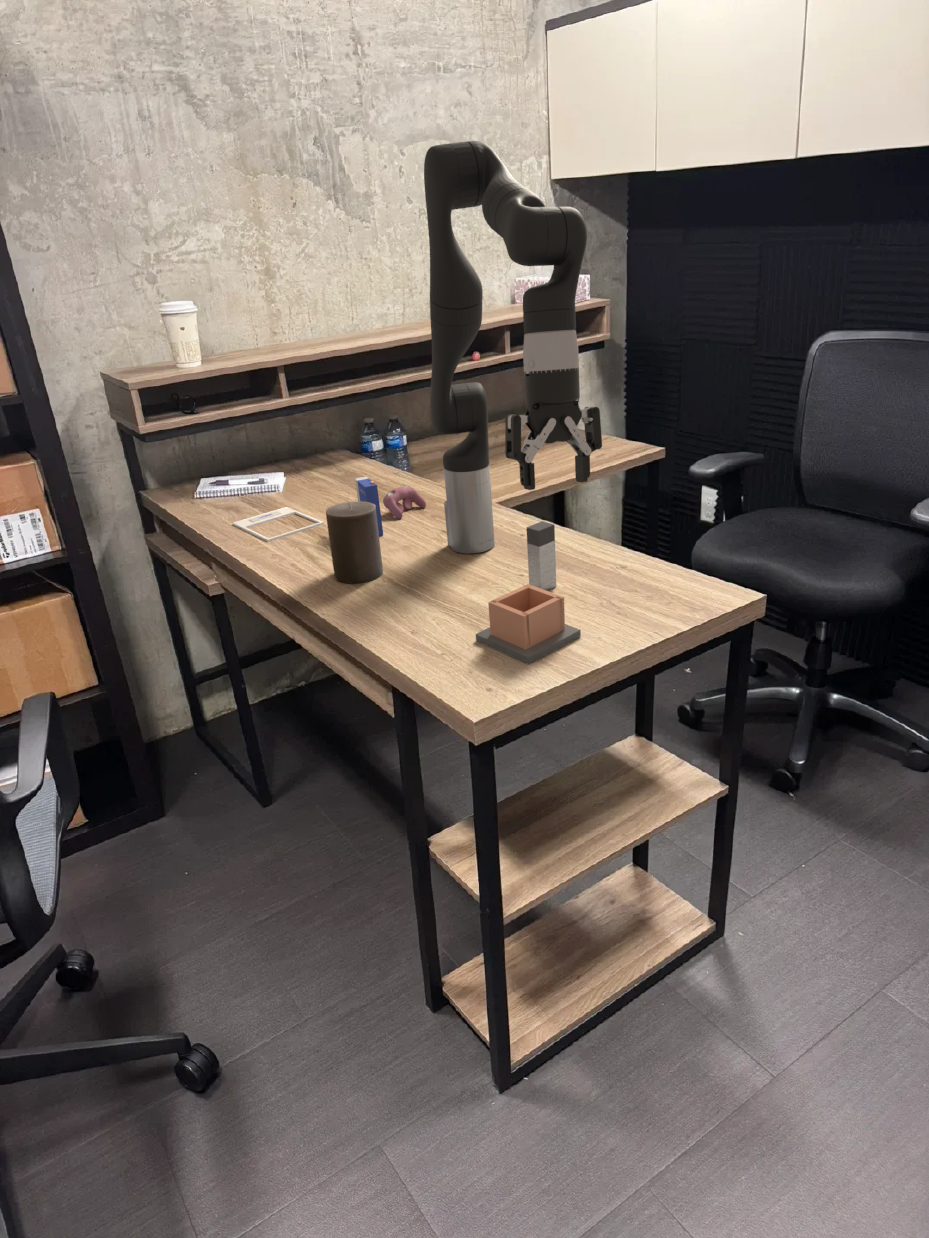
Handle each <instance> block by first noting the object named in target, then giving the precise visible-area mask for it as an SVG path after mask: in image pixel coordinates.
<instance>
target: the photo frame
mask: <svg viewBox="0 0 929 1238" xmlns="http://www.w3.org/2000/svg"><path fill="white" fill-rule="evenodd" d="M292 515H293V516H294V515H297V516H300V517H302V518H304V519H307V520H309V521H312V522H314V523H312V524H310V525H307V526H303V527H301V528H297V529H294V530H290V531H288V532H284V533H282V534H281V533H280V534H278V535H275V536H271V537H267V536H265V535H263V534H260V533H259V532H256V531H255V530H253V529H251V528H253V527H256V526H259V525H262V524H266V523H269V522H273V521H275V520H279V519H282V518H285V517H288V516H292ZM322 525H325V521H323V520H320V519H318V518H315V517H312V516H310V515H308V514H305V513H303V512H300V511H298V510H295V509H293V508H291V507H289V506H288V507H287V506H285V507H281V508H278V509H274V510H271V511H267V512H264V513H261V514H257V515H253V516H250V517H248V518H244V519H240V520H237V521H234V522H232V526H234V527H236V528H238V529H240V530H243V531H244V532H247V533H249V534H251V535H254V536H255V537H257V538H259V539H261V540H263V541H265V542H267V543H269V542H270V543H271V542H272V541H276V540H279V539H282V538H285V537H288V536H291V535H294V534H298V533H301V532H305V531H307V530H310V529H314V528H316V527H320V526H322Z"/></svg>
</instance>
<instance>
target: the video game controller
mask: <svg viewBox="0 0 929 1238" xmlns="http://www.w3.org/2000/svg"><path fill="white" fill-rule="evenodd" d="M400 501H402V503H400ZM382 502H383V505H384V507H385V508H386V509H387V510H388V511H389V513H390V514H391V515H392V516H393V517H394V518H396V519H399V520H401V519H402V518H403V512H404V510H405V511H409V510H411V509H412V508H413V503H414V504H415V505H416V506H418V507H419V508H421V509H425V508H426V507H427V503H426V500H425V499H424V498H423V497H422V496H421V494H420V493H418V492H417V490H416V489H415V488H413V487H411V485H407V486H399V487H396V488H394V489H392V490H390V491H389V492H388V493H387V494H386V495H385V496H384V497H383V498H382Z"/></svg>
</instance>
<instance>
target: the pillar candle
mask: <svg viewBox="0 0 929 1238" xmlns="http://www.w3.org/2000/svg"><path fill="white" fill-rule="evenodd" d="M325 515H326V524H327V532H328V539H329V548H330V555H331V560H332V562H331V563H332V567H333V573H334V578H335V580H336V581H338V582H341V583H344V584H345V583H346V584H350V585H353V584H355V585H356V584H362V583H368V582H371V581H373V580H376V579H378V578H380V577H381V576H382V575H383V573H384V569H383V566H384V565H383V560H382V559H383V558H382V551H381V549H382V548H381V542H380V536H379V532H378V524H377V516H376V506H375V504H372V503H370V502H360V501H358V500H355V501H353V500H352V501H344V502H340V503H336V504H334V505H330V506H329V507H327V508H326V510H325Z"/></svg>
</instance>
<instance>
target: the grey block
mask: <svg viewBox="0 0 929 1238" xmlns="http://www.w3.org/2000/svg"><path fill="white" fill-rule="evenodd" d="M555 533H556V531H555V524H553V523H550V522H546V521H544V520H542V521H539V522H537V523H534V524H532V525H528V526H527V527H526V545H527V547H526V548H527V566H528V568H527V569H528V584H529V585H532V586H535V587H538V588H540V589H543V590H546V591H550V590H551V589H552V590H553V588H555V587H557V568H556V567H557V564H556V535H555Z"/></svg>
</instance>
